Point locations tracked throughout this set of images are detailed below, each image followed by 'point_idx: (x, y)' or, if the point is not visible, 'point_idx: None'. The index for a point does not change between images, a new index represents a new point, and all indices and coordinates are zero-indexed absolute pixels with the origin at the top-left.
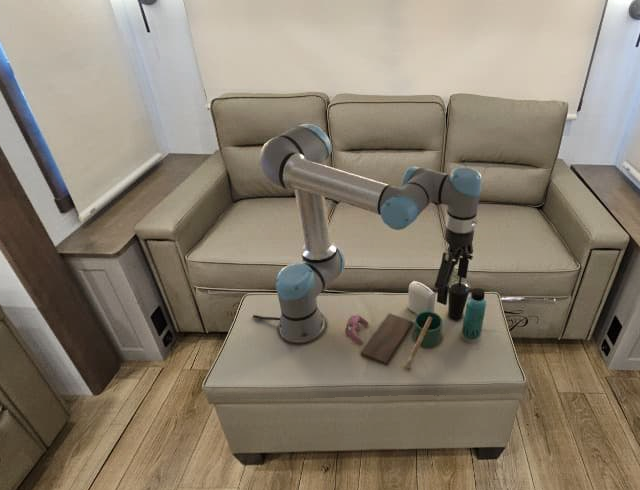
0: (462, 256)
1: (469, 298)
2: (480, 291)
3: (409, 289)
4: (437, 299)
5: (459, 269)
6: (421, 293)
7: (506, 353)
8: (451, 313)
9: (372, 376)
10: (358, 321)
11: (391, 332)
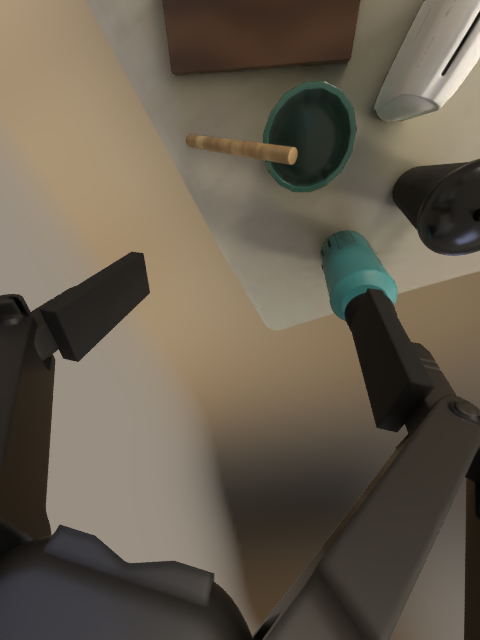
0: (428, 411)
1: (369, 280)
2: None
3: None
4: (123, 259)
5: (376, 322)
6: (432, 33)
7: (315, 316)
8: (401, 184)
9: (128, 59)
10: None
11: (277, 5)
